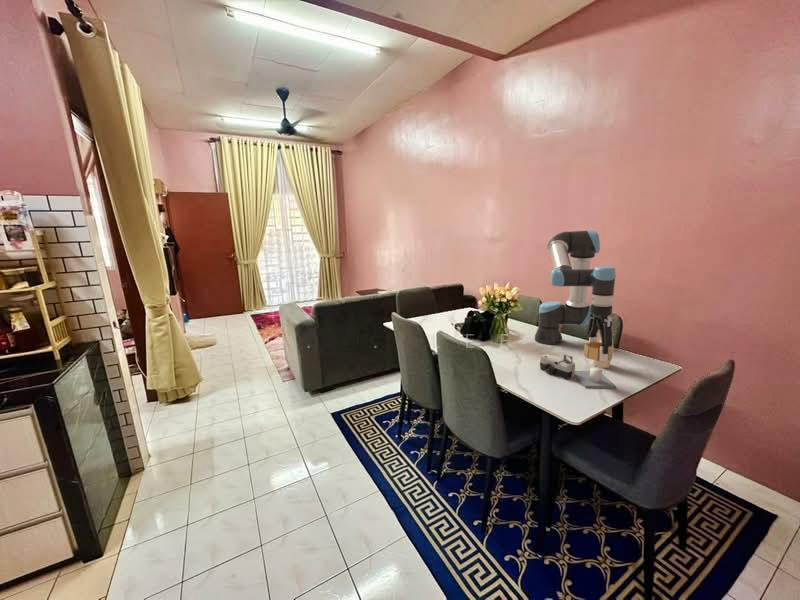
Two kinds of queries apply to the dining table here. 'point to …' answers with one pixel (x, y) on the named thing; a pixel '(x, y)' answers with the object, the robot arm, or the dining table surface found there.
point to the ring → (595, 351)
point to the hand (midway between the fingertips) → (597, 356)
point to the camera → (557, 366)
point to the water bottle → (601, 363)
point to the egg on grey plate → (593, 379)
